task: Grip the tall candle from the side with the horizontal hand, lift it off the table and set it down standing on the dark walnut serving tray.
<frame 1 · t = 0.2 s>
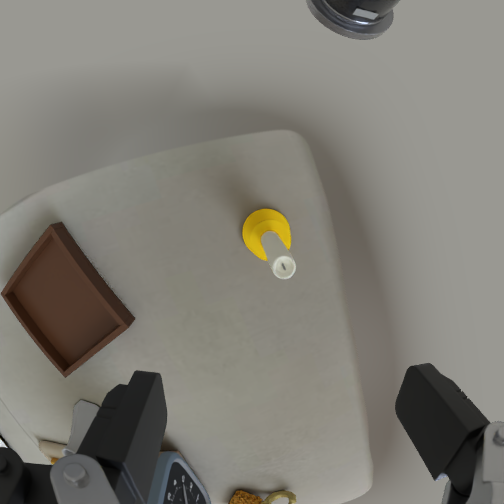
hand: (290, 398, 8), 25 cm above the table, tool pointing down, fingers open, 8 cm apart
wooden puzzle: (89, 471, 43), on the table
alarm clock: (172, 469, 42), on the table
tray: (63, 302, 34), on the table
candle: (265, 231, 33), on the table
ornament: (259, 495, 44), on the table
flask: (93, 415, 39), on the table
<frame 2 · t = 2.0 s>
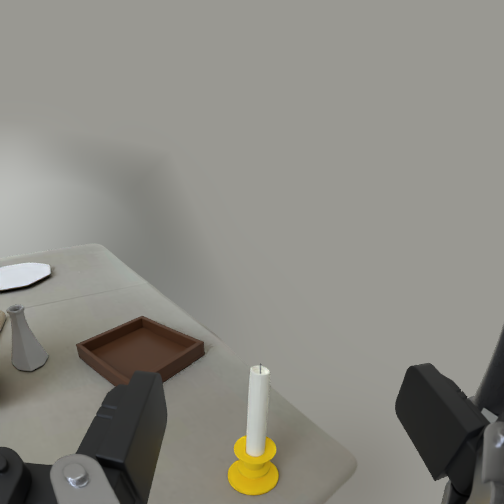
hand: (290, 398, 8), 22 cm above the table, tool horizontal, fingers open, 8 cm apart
tray: (139, 357, 45), on the table
candle: (253, 477, 24), on the table
plate: (14, 279, 73), on the table
flask: (30, 361, 38), on the table
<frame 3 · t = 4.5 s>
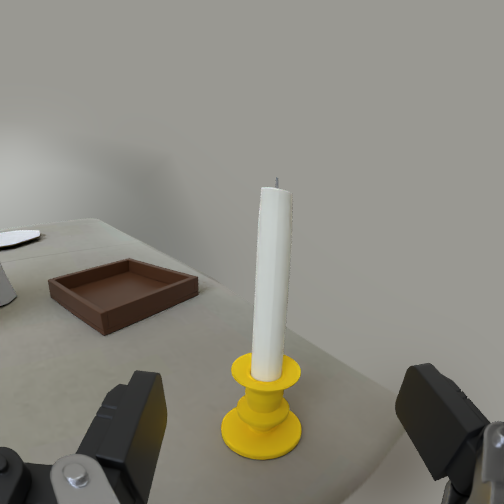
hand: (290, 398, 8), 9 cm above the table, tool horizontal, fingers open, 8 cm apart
tray: (120, 296, 38), on the table
candle: (261, 433, 17), on the table
plate: (2, 243, 66), on the table
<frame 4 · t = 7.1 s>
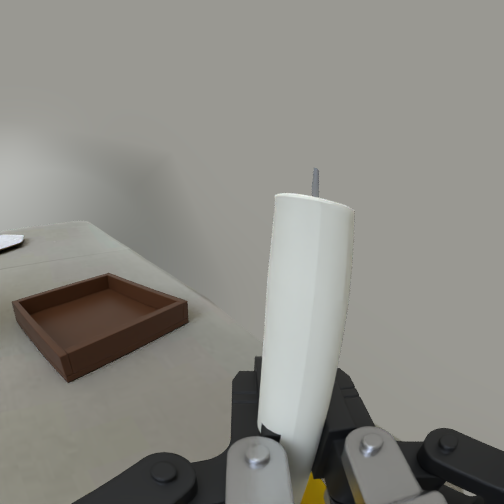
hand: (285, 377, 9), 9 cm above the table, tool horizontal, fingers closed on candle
tray: (93, 324, 29), on the table
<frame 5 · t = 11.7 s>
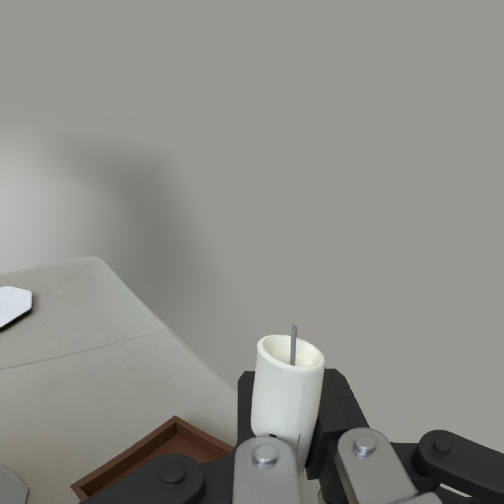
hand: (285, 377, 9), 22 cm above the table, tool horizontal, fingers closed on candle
tray: (186, 503, 20), on the table
flask: (3, 494, 13), on the table
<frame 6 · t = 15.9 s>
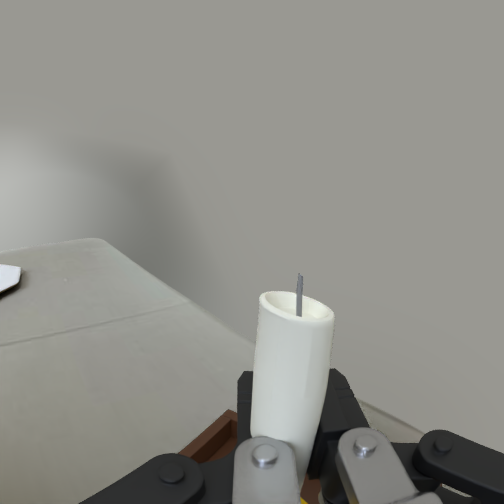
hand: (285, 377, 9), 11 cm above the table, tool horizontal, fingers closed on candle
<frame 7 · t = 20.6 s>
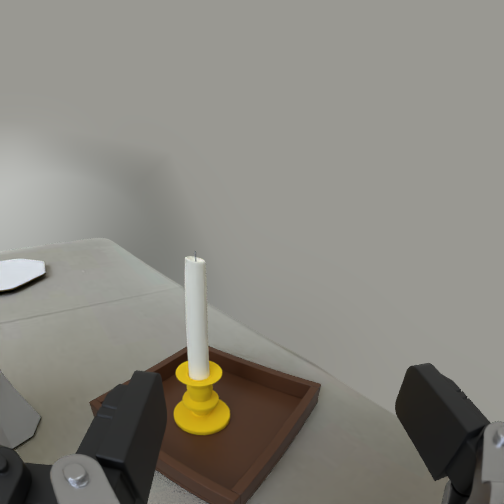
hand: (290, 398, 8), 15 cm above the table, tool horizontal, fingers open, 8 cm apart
tray: (209, 419, 25), on the table
candle: (202, 417, 24), resting on tray
flask: (11, 425, 17), on the table
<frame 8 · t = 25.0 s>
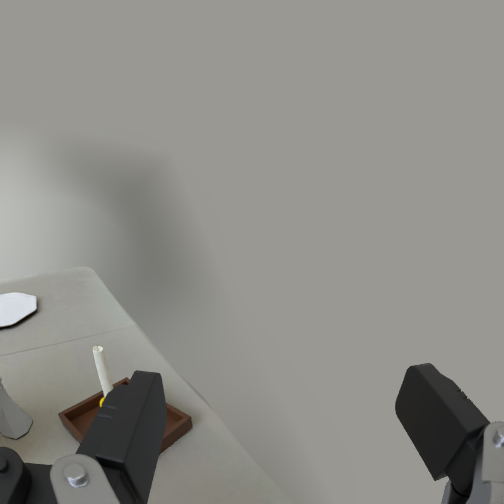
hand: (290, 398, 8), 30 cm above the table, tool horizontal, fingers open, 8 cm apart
tray: (124, 429, 37), on the table
candle: (119, 427, 37), resting on tray
plate: (0, 313, 66), on the table
flask: (15, 425, 30), on the table
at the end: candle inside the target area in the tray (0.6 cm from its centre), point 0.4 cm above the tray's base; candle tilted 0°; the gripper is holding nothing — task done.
